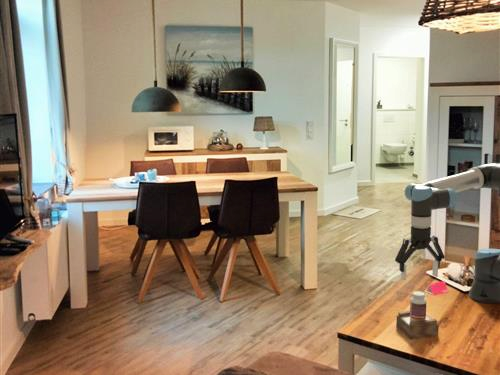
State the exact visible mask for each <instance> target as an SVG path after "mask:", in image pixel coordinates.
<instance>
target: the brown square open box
mask: <svg viewBox="0 0 500 375" xmlns="http://www.w3.org/2000/svg"><path fill="white" fill-rule="evenodd" d="M395 324H396V326H395V327H396V328H397V329H398V330H399V331H401V332H402V333H403V334H404V335H405V336H406V337H407V338H408V339H409V340H415V339H416V340H417V339H424V338H425V339H427V338H434V337H439V328H440V327H439V325H440V324H439V323H438V320H437V319H436V318H431V317H430V316H428V315H427V314H426V320H421V321H413V320H411V319H410V310H408V311H399V312H398V314H397V315H396V323H395Z"/></svg>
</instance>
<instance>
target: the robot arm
mask: <svg viewBox="0 0 500 375" xmlns="http://www.w3.org/2000/svg"><path fill="white" fill-rule="evenodd" d="M483 188H484V189H492V190H495V191H497V195H498V196H497V197H498V198H499V199H500V162H490V163H485V164H481V165H477V166H474V167H470V168H469V169H467V171H464V172H460V173H457V174H453V175H449V176H446V177H442V178H438V179H434V180H431V181H427V182H423V183H413V182H411V183H409V184H407V186H406V187H405V190H404V196H405V198H406V200H408V201H410V203H411V204H410V205H411V210H410V212H411V213H410V214H411V216H410V225H411V226H410V238H405V237H404V238H402V239H403V240H402V244H401V247H400V248H399V251H398V253H397V255H396V256H395V259H394V261H395V262H396V263H397V264H399V271H400V272H401V274H400V279H402V280H403V281H407V261H408V260H409V259H410V257H412V255H413V253H415V252H416V251H419V250H427V251H428V253H430V255H432V257H433V259H432V273H431V274H432V276H433V277H435V278H438V277H439V275H438V274H439V269H440V268H441V262H442V261H443V260H444V259H445V258H446V256H445V255H444V252H443V249H442V247H441V245H440V243H439V238H438V236H435V235H432V236H431V233H432V232H431V231H432V211H433V210H434V211H435V210H440V209H448V208H452V207H454V206H455V205H456V204H457V202H458V195H457V193H459V192H463V191H466V190H470V189H475V190H479V189H483ZM431 242H432V244H433V246H434V249H435V250H434V249H433V247H432V246H431V245H430V243H431ZM473 274H474V275H473V276H474V277H473V282H472V283H471V286H470V289H469V292H468V296H469V298H470V299H472V300H474V301H476V302H479V303H485V304H499V303H500V249H498V248H481V249H478V250H477V251H476V252H475V257H474V273H473Z"/></svg>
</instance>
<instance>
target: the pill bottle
mask: <svg viewBox="0 0 500 375" xmlns="http://www.w3.org/2000/svg"><path fill="white" fill-rule="evenodd" d="M425 297H426V294H425V293H424V292H423V291H418V290H417V291H413V292H412V297H411V298H410V302H409V303H410V306H409V308H410V309H409V311H410V319H411V320H413V321H421V320H426V315H427V298H425Z"/></svg>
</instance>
